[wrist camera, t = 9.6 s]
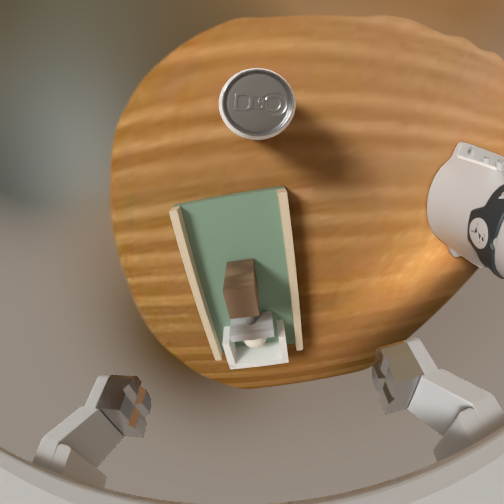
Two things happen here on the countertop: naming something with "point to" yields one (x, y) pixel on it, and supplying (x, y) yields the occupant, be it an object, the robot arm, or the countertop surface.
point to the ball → (255, 343)
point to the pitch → (240, 257)
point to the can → (257, 104)
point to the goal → (256, 351)
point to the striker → (245, 303)
